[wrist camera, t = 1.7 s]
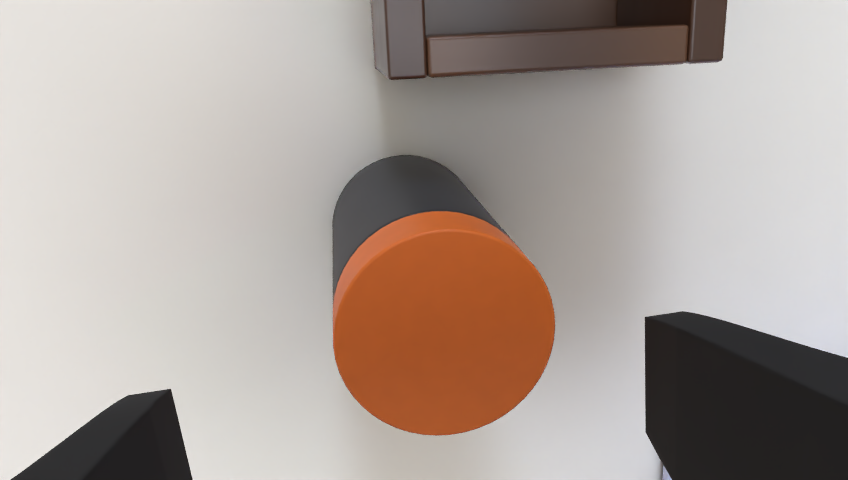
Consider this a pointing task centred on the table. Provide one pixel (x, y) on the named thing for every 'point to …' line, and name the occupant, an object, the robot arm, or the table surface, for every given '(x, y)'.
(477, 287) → the grey and orange cylinder
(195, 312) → the table surface
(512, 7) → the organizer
